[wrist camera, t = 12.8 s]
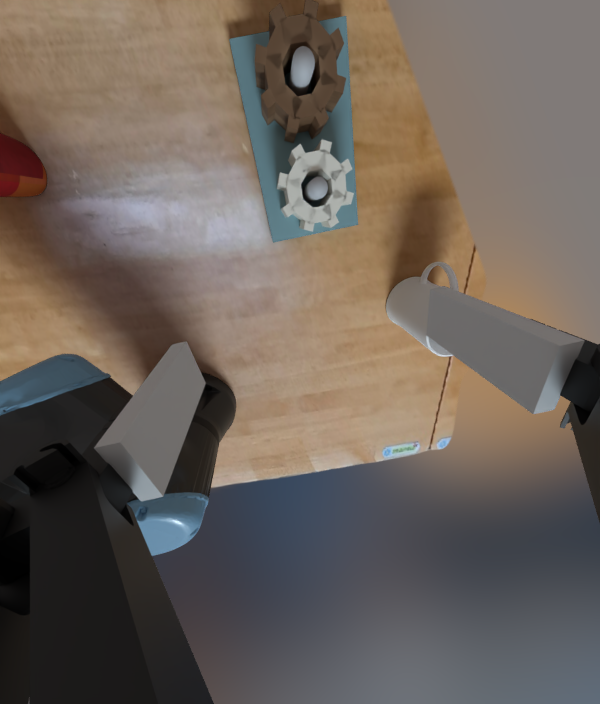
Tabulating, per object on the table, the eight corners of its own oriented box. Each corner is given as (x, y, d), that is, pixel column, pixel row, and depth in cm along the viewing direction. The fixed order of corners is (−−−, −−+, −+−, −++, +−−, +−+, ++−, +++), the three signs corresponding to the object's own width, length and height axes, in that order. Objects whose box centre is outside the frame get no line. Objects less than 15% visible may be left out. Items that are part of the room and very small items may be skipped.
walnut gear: (268, 148, 29) (268, 136, 25) (248, 45, 25) (244, 9, 21) (336, 134, 29) (348, 119, 25) (328, 30, 25) (341, -10, 21)
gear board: (272, 241, 35) (274, 246, 29) (231, 48, 26) (218, -10, 19) (354, 224, 35) (374, 225, 29) (342, 26, 26) (367, -39, 20)
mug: (392, 256, 38) (439, 270, 28) (444, 253, 39) (509, 267, 28) (382, 326, 44) (418, 360, 33) (427, 323, 45) (477, 355, 34)
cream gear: (285, 234, 34) (287, 236, 29) (271, 159, 30) (271, 149, 25) (344, 222, 34) (355, 222, 29) (338, 145, 30) (350, 133, 25)
